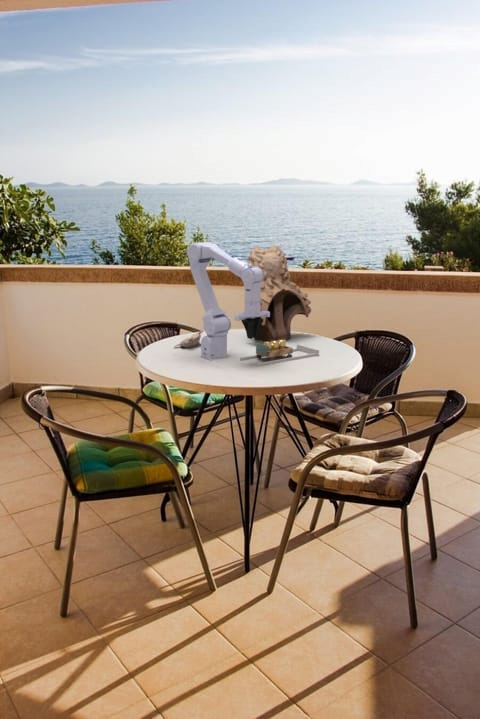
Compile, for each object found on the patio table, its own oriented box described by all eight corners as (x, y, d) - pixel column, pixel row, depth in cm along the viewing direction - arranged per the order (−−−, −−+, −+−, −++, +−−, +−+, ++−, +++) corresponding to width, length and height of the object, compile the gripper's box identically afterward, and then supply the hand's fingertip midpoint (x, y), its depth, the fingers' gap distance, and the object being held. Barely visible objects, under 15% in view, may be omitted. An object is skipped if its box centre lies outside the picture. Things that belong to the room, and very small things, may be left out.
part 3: (281, 351, 249) (281, 341, 248) (276, 350, 251) (276, 339, 250) (287, 350, 250) (287, 340, 249) (282, 349, 253) (282, 338, 252)
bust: (287, 330, 304) (289, 242, 294) (315, 337, 291) (318, 244, 281) (229, 340, 282) (229, 245, 272) (256, 348, 269) (257, 248, 259)
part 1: (266, 354, 245) (266, 343, 244) (261, 352, 247) (261, 341, 246) (273, 352, 247) (273, 342, 246) (268, 351, 249) (268, 340, 248)
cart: (268, 363, 243) (269, 347, 241) (254, 358, 249) (254, 343, 248) (293, 358, 249) (294, 343, 248) (279, 354, 256) (279, 339, 255)
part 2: (274, 352, 247) (274, 342, 246) (269, 351, 249) (269, 340, 248) (280, 351, 248) (280, 341, 247) (275, 350, 251) (275, 339, 250)
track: (258, 368, 238) (258, 360, 237) (239, 361, 248) (239, 353, 247) (318, 357, 254) (318, 349, 254) (298, 351, 264) (298, 344, 263)
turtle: (195, 358, 266) (203, 335, 263) (172, 350, 265) (181, 327, 262) (196, 348, 281) (204, 326, 278) (175, 340, 280) (183, 319, 277)
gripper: (242, 304, 231) (242, 342, 234) (275, 300, 239) (274, 337, 242) (231, 301, 236) (230, 339, 240) (263, 298, 244) (262, 334, 248)
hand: (252, 338), depth 241 cm, fingers closed
